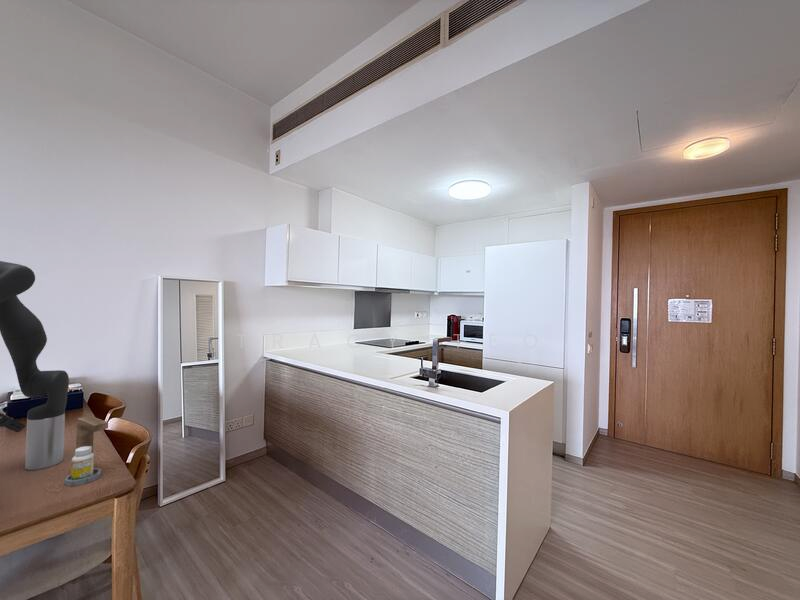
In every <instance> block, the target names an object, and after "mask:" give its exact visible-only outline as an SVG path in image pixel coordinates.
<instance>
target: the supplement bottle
mask: <svg viewBox="0 0 800 600" xmlns="http://www.w3.org/2000/svg"><path fill="white" fill-rule="evenodd" d="M91 451H92V447H91V446H84V447H80V448H77V449H76V448H75V450H74V456H73V457H72V458H71V465H70V466H71V469H70V471H71V472H70V474H71V480H73V481H75V480H80V479H85V478H88V477H90V476H93V469H94V468H95V465H94V463H95V454H94V452H93V453H92V452H91Z"/></svg>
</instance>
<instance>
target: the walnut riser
mask: <svg viewBox="0 0 800 600" xmlns="http://www.w3.org/2000/svg"><path fill="white" fill-rule="evenodd" d="M106 429H109V422H108V421H106V420H103V419H100V418H98V417H95V416H92V415H87V416H82V417H78V418H77V419H76V439H75V444H76V445H75V446H76V447H75V450H76V449H77V448H80V447H84V446H91V447H92V451H91V452H92V453H94V437H95V436H94V433H95V432H99V431H103V430H106Z"/></svg>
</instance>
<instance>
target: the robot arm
mask: <svg viewBox="0 0 800 600" xmlns="http://www.w3.org/2000/svg"><path fill="white" fill-rule="evenodd" d="M35 281H36V275H35V272H34V271H33V269H32V268H30V267H29V266H26V265H22V264H18V263H14V262H7V261H2V260H0V335H1V337H2V340H3V342H4V344H5V346H6V349H7V351H8V353H9V356H10V357H11V360H12V364H13V366H14V370H15V373H16V377H17V382H18V385H19V389H20V392H21V393H22V395H23V396H24V397H26V398H35V399H36V398H47V401H46V402H45V403H43V404H41V405H38V406H35V407H32V408H30V409H29V410H28V411H27V414H26V424H24V423H22V422H19V421H18V420H16V419H14V418H13V417H12V416H8V415H7V412H5V411H3V410H1V409H0V428H6V429H9V430H11V431H14V432H16V433H20V432H21V431H22V430H23V429H25V428H26V438H25V439H26V440H25V460H24V462H25V464H24V465H25V466H24V469H25V470H27V471H34V470H35V471H36V470H42V469H46V468H50V467H53V466H55V465H57V464H60V463H61V462H62V461H64V450H65V449H64V445H65V421H66V419H65V417H66V414H65V413H66V407H67V402H68V395H69V394H68V391H69V385H70V383H69V382H70V379H69V378H70V377H69V374H68V373H67V371H66V370H60V369H58V370H40V369H39V367H38V366H37V365H38V364H37V359H38V358H39V356H40V355H41V353H42V352H43V350H44V349H45V346H46V345H47V341H48V337H47V333H46V330H45V328H44V326H43V324H42V321H41V320H40V319H39V318H38V317H37V316H36V315H35V314H34V313H33V312H32V311H31V310H30V309H29V308H27V306H25V304H23V302H22V301H21V300H20V299H19V297H18V296H19V295H21V294H22V293H25V292H26V291H28V290H29V289H31V287H33V286H34V284H35Z"/></svg>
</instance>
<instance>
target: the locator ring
mask: <svg viewBox="0 0 800 600" xmlns="http://www.w3.org/2000/svg"><path fill="white" fill-rule="evenodd" d="M101 473H102V469H101V468H97V467H94V469H93V476H90V477H88V478H85V479H80V480H75V481H73V480H71V473H70V474H68V475H67V476H66V477H65V479H64V485H65V486H68V487H76V486H75V485H78V486H82V485H81V484H83V485H85V483H86V484H88V483H87V482H89V483H91V481H92V482H93V480H94V481H95V479H96V480H97V479H99V478H100V476H101Z"/></svg>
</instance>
